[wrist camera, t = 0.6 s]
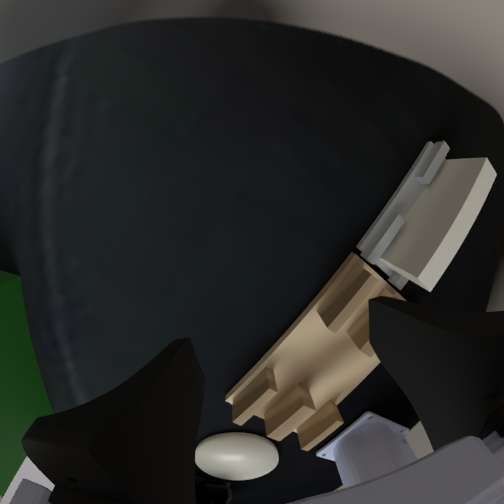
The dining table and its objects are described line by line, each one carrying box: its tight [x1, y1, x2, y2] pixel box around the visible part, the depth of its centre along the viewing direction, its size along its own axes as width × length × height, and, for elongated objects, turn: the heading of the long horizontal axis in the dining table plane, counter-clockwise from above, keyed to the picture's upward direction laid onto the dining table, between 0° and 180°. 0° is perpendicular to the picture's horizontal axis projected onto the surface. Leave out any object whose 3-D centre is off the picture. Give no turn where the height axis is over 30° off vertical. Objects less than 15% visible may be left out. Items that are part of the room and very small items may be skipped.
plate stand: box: [356, 141, 450, 290], centre depth 19 cm, size 5×12×2 cm, turn 143°
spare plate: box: [195, 432, 279, 480], centre depth 25 cm, size 9×9×1 cm
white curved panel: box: [380, 158, 497, 292], centre depth 17 cm, size 2×10×6 cm, turn 143°
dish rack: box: [226, 252, 406, 451], centre depth 20 cm, size 9×16×4 cm, turn 143°
